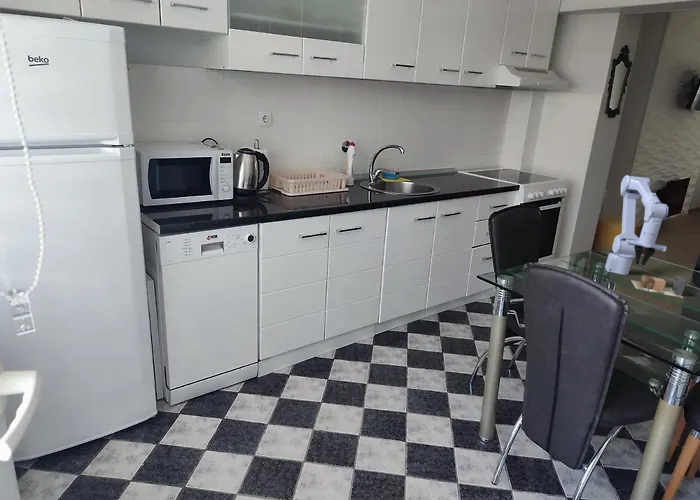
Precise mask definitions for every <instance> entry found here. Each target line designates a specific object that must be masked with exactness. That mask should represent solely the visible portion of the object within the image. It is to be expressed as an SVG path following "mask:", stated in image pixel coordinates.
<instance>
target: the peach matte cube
mask: <svg viewBox="0 0 700 500" xmlns="http://www.w3.org/2000/svg"><path fill="white" fill-rule="evenodd" d="M652 278H653V279H654V281H653V284H652V287H651V289H654V290H659V291H663V289H664V286H666V283H667V282H666V280H665V279H663V278H661V277H660V278H659V277H653V276H652Z"/></svg>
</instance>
